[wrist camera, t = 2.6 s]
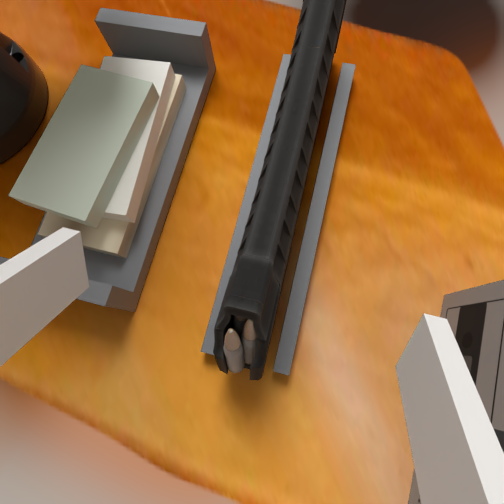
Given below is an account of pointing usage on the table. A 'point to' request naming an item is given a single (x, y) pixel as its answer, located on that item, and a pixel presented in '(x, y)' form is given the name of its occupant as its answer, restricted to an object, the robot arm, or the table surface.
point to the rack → (163, 188)
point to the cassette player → (478, 347)
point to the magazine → (277, 196)
